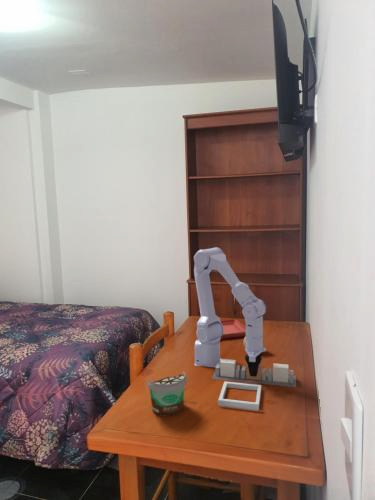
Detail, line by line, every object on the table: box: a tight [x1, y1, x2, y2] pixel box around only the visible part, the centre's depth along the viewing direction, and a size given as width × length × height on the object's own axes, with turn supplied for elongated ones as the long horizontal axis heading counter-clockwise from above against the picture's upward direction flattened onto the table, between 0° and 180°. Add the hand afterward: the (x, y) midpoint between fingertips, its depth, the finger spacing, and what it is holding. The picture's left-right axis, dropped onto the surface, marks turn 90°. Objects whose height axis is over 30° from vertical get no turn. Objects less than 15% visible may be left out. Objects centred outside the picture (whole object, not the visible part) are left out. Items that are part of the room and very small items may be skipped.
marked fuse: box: [245, 361, 263, 380], centre depth 130 cm, size 5×3×5 cm, turn 76°
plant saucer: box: [220, 318, 246, 340], centre depth 177 cm, size 18×18×3 cm
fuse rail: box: [211, 363, 297, 388], centre depth 131 cm, size 28×8×4 cm, turn 76°
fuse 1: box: [220, 358, 237, 377], centre depth 133 cm, size 5×3×5 cm, turn 76°
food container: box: [146, 371, 188, 417], centre depth 111 cm, size 12×6×10 cm, turn 117°
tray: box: [217, 380, 262, 412], centre depth 118 cm, size 12×12×2 cm
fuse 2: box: [272, 362, 290, 383], centre depth 128 cm, size 5×3×5 cm, turn 76°
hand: (253, 373), depth 131 cm, fingers open, 3 cm apart
